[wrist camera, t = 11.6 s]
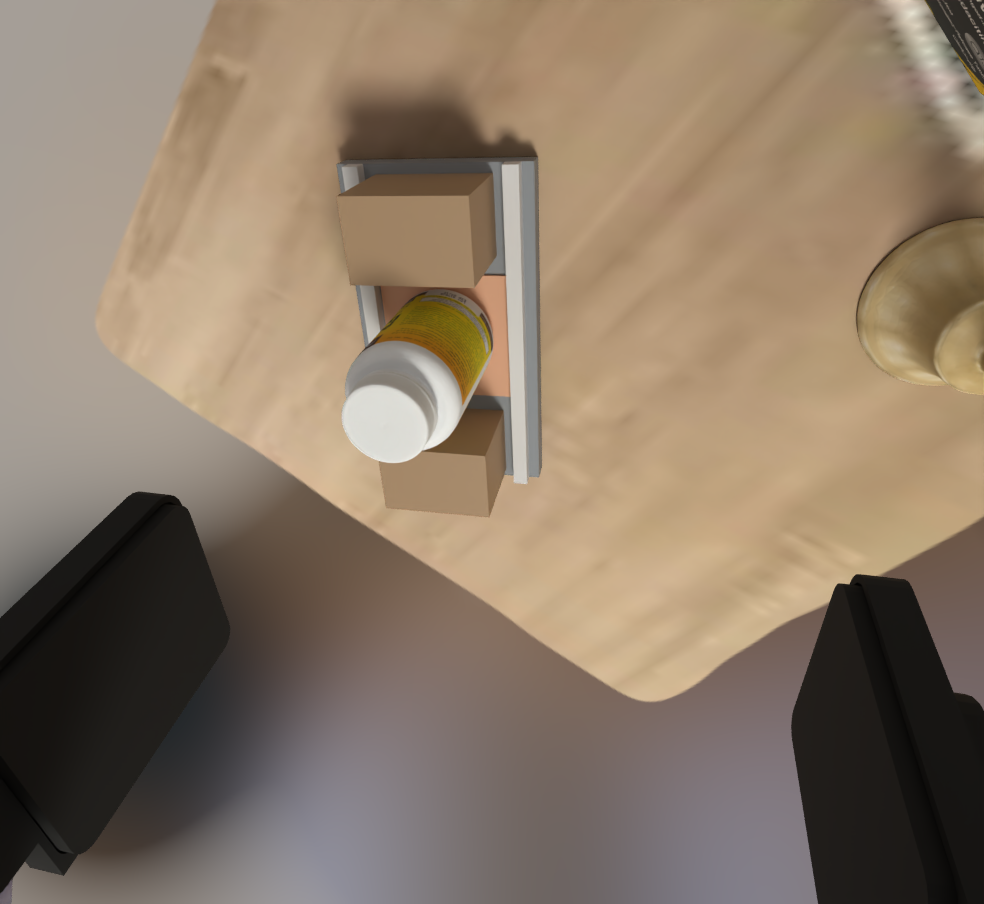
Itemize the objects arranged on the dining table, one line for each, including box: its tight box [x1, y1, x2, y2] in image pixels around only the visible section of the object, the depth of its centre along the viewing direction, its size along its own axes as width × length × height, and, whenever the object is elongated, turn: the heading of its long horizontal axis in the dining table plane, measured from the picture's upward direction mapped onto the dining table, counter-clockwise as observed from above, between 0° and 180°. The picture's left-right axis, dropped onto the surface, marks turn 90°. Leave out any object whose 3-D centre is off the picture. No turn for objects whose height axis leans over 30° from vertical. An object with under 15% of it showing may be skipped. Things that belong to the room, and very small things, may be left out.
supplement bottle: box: [342, 289, 493, 463], centre depth 34 cm, size 6×6×10 cm
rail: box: [336, 157, 542, 517], centre depth 37 cm, size 18×10×6 cm, turn 3°
